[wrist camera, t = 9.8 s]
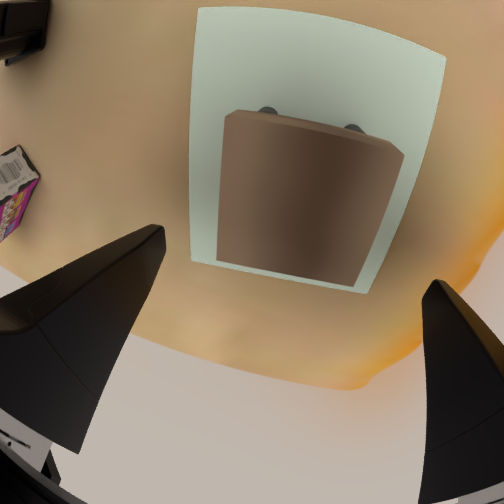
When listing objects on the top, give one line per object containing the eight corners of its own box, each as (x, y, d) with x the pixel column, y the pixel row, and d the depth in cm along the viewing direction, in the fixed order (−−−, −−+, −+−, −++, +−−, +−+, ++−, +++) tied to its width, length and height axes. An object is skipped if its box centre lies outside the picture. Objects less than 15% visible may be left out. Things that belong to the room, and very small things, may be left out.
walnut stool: (242, 201, 17) (216, 260, 13) (254, 100, 13) (224, 116, 9) (342, 221, 17) (353, 287, 12) (369, 124, 13) (404, 155, 8)
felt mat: (193, 256, 22) (191, 260, 21) (202, 9, 11) (198, 7, 10) (365, 288, 21) (366, 294, 20) (441, 57, 10) (446, 57, 9)
